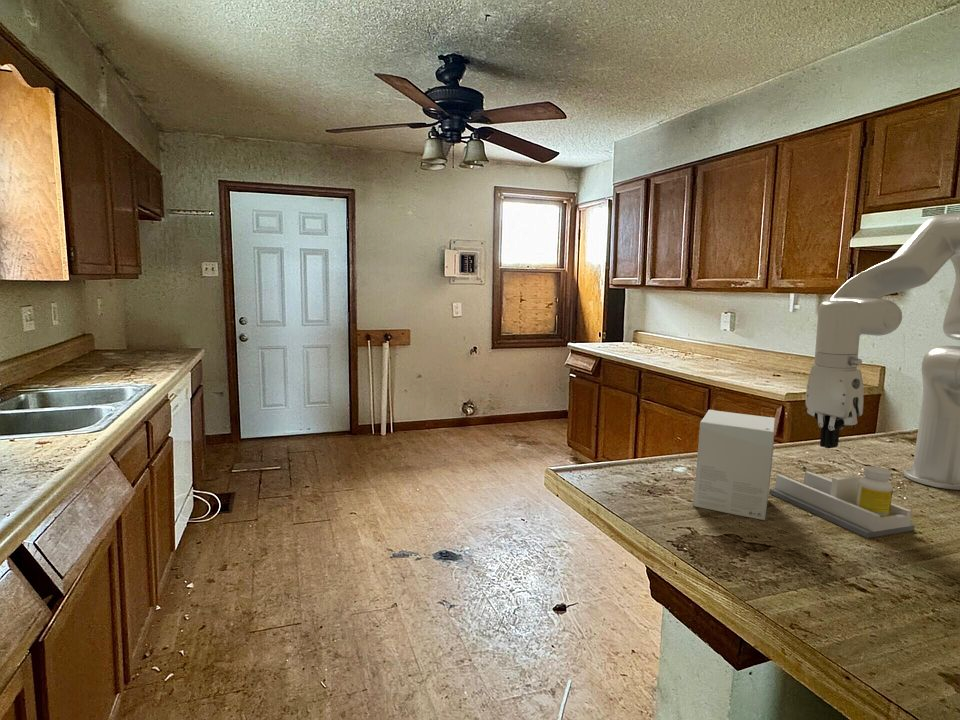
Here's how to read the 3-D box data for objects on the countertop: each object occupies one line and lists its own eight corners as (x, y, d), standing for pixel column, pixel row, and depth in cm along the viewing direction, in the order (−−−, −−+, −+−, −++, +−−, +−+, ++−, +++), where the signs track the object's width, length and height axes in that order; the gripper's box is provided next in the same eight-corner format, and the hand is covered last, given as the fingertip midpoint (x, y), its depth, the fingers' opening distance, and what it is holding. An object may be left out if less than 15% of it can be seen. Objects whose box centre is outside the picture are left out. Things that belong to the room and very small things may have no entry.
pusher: (851, 503, 115) (854, 475, 114) (856, 506, 114) (860, 477, 113) (828, 507, 113) (832, 477, 112) (834, 509, 112) (837, 479, 111)
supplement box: (768, 499, 120) (776, 417, 118) (765, 521, 109) (775, 431, 106) (700, 486, 126) (707, 408, 124) (691, 506, 115) (699, 421, 112)
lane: (811, 488, 127) (813, 470, 127) (914, 530, 107) (917, 509, 106) (769, 493, 123) (771, 475, 123) (867, 538, 103) (870, 516, 102)
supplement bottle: (894, 527, 105) (901, 475, 104) (862, 524, 106) (868, 473, 105) (879, 515, 111) (885, 466, 109) (848, 512, 112) (854, 463, 110)
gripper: (884, 365, 113) (876, 455, 116) (817, 354, 127) (811, 435, 130) (856, 368, 110) (848, 459, 113) (791, 357, 124) (785, 439, 127)
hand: (828, 446), depth 122 cm, fingers closed
